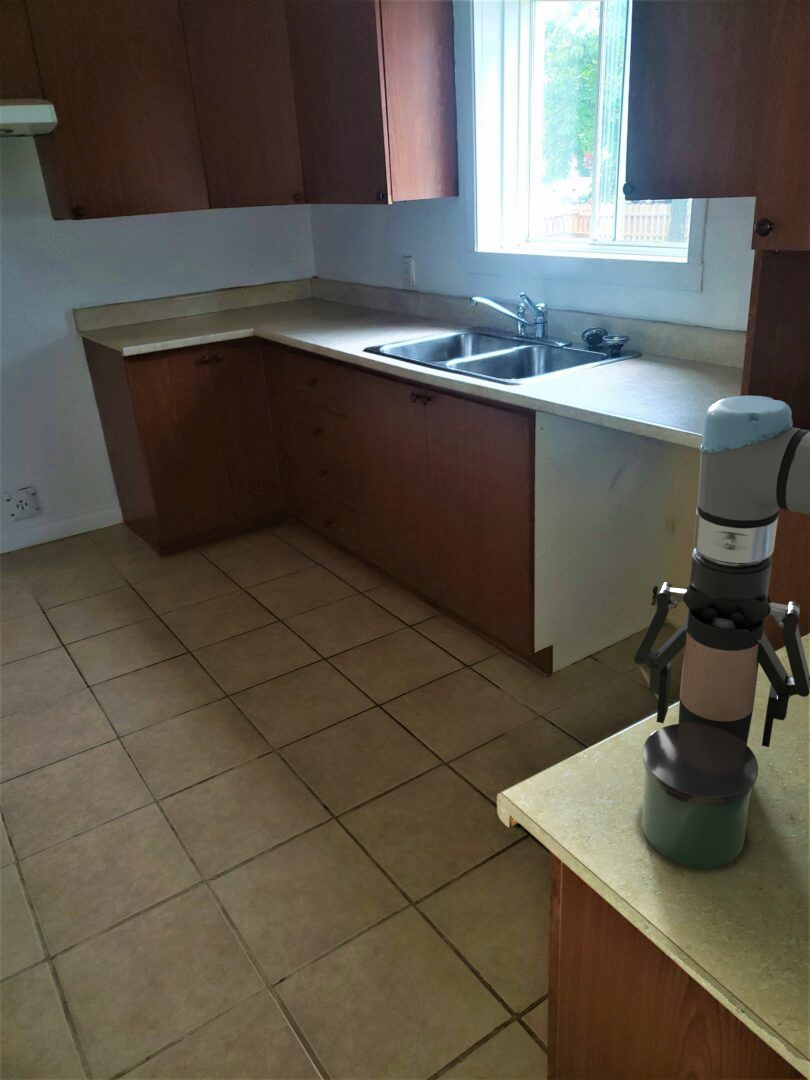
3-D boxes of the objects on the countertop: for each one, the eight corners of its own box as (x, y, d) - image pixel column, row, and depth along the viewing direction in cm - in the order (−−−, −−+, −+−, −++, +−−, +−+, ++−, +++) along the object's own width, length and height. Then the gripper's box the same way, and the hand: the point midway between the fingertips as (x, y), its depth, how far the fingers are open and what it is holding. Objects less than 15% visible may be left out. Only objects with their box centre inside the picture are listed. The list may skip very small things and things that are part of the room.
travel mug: (671, 736, 98) (683, 591, 89) (739, 741, 96) (758, 594, 88) (677, 781, 91) (691, 629, 83) (750, 787, 90) (772, 632, 81)
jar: (739, 797, 88) (748, 726, 84) (756, 877, 79) (768, 801, 75) (635, 788, 91) (640, 719, 87) (640, 865, 81) (645, 791, 77)
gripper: (609, 551, 84) (602, 723, 94) (860, 586, 74) (825, 775, 84) (626, 522, 90) (618, 686, 100) (861, 551, 80) (828, 731, 90)
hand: (713, 727), depth 92 cm, fingers open, 10 cm apart
